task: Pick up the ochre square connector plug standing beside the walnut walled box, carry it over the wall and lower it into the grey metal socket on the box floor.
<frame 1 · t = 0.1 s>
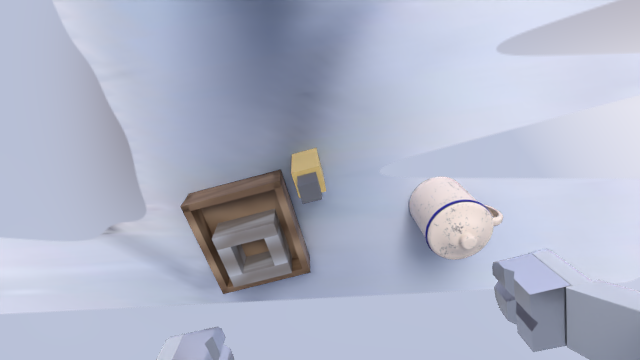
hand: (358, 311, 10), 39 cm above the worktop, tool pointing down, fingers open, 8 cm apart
connector: (307, 162, 50), on the worktop
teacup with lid: (444, 199, 54), on the worktop
walled box: (252, 226, 53), on the worktop
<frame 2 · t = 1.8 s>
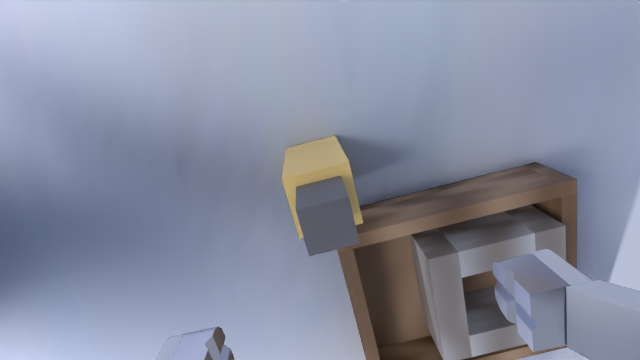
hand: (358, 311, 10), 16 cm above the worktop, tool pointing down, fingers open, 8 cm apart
connector: (316, 165, 25), on the worktop
walled box: (443, 265, 28), on the worktop
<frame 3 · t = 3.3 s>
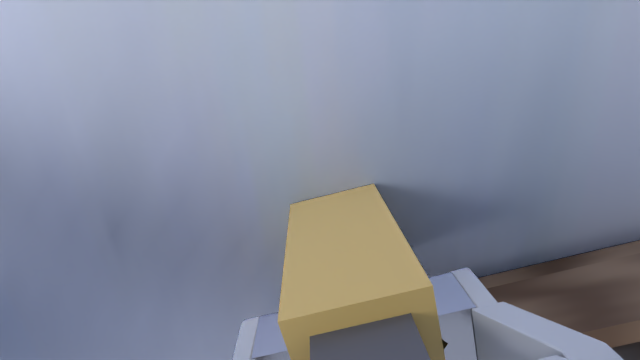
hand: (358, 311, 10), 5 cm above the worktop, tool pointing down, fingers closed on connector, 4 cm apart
connector: (341, 231, 15), on the worktop, touching gripper
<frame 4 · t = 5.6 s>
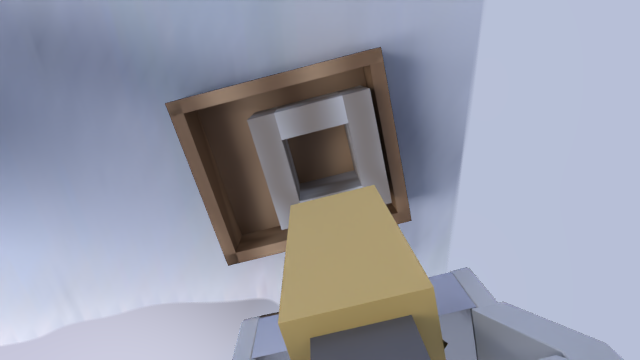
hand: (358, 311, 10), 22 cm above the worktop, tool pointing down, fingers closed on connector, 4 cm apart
connector: (341, 232, 15), point 16 cm above the worktop, touching gripper
walled box: (298, 153, 31), on the worktop
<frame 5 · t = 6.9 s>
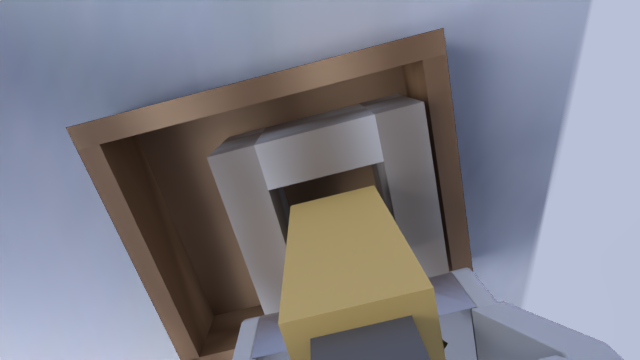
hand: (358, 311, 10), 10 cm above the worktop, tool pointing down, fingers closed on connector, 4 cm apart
connector: (341, 232, 15), point 5 cm above the worktop, touching gripper
walled box: (297, 197, 20), on the worktop
when the fingers open (6 cm above the worktop, at t = 8.0 s): connector stays where it is, resting on walled box.
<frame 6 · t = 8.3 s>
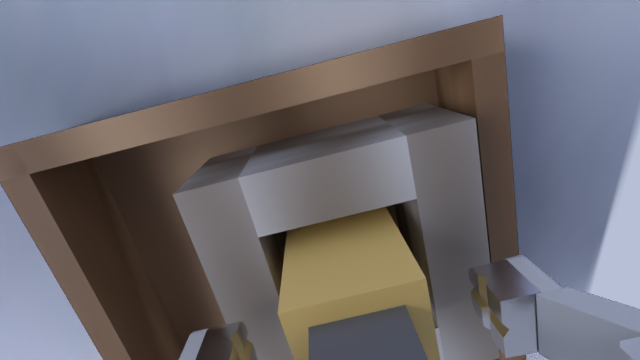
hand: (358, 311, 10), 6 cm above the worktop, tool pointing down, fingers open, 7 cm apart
connector: (340, 228, 15), point 1 cm above the worktop, touching walled box
walled box: (298, 230, 16), on the worktop
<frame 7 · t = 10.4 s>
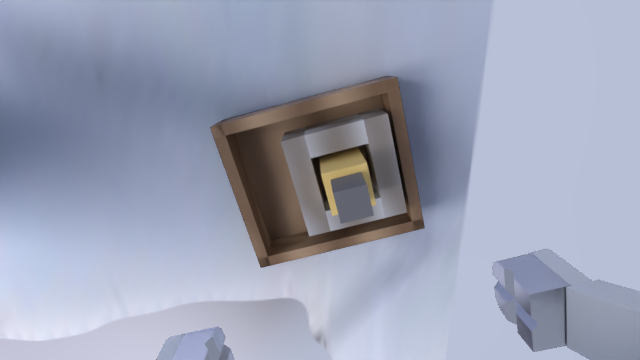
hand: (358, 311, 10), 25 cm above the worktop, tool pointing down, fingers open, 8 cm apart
connector: (341, 165, 33), point 1 cm above the worktop, touching walled box
walled box: (321, 168, 34), on the worktop
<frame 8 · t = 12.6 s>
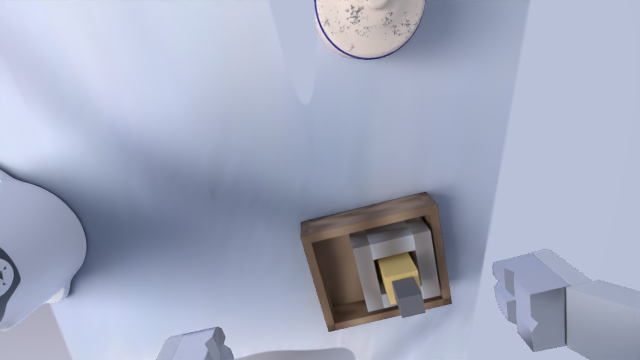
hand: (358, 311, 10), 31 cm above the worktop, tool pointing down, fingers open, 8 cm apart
connector: (389, 254, 44), point 1 cm above the worktop, touching walled box
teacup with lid: (355, 0, 36), on the worktop
walled box: (373, 254, 45), on the worktop
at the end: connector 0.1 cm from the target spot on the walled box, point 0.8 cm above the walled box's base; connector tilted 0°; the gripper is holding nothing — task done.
